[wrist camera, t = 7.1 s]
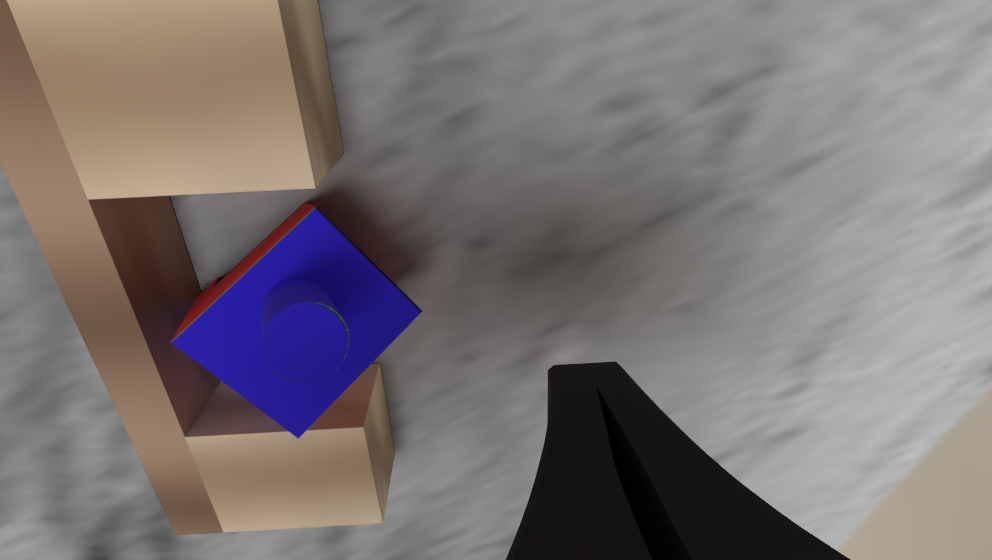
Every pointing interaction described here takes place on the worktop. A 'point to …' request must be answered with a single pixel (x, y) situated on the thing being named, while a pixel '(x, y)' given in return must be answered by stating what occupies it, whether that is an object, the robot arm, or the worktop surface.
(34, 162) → the beech bracket
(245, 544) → the worktop surface
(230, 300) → the toy building block
